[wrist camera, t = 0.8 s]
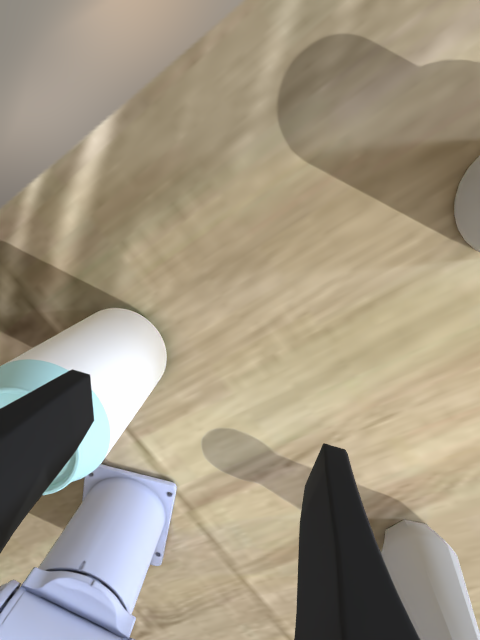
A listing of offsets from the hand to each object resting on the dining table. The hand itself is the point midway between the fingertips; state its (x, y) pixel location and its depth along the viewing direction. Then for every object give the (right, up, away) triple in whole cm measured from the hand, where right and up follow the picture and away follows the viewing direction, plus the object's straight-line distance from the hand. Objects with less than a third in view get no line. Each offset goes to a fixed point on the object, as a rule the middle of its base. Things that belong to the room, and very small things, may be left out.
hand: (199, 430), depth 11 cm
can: (-8, +1, +17) cm, 19 cm away
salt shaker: (+15, -15, +20) cm, 29 cm away
